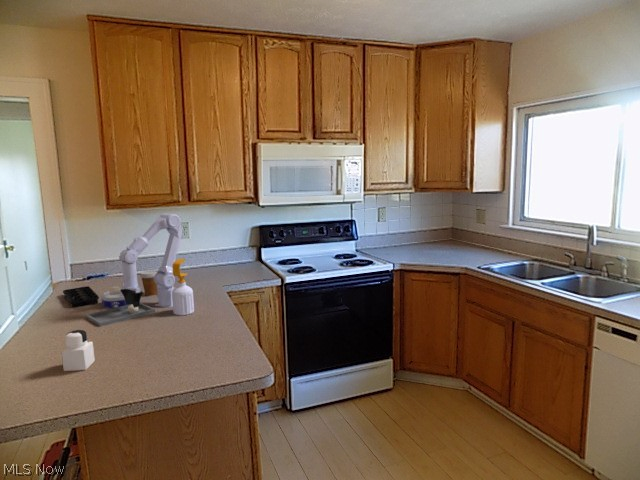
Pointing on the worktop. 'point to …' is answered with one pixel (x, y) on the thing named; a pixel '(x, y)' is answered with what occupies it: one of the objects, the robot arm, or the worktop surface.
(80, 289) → the egg carton
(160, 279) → the robot arm
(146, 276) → the disposable coffee cup
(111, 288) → the pebble
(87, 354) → the medicine bottle
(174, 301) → the soap bottle
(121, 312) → the parts tray
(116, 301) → the dog bowl
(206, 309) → the worktop surface
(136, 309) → the pebble
